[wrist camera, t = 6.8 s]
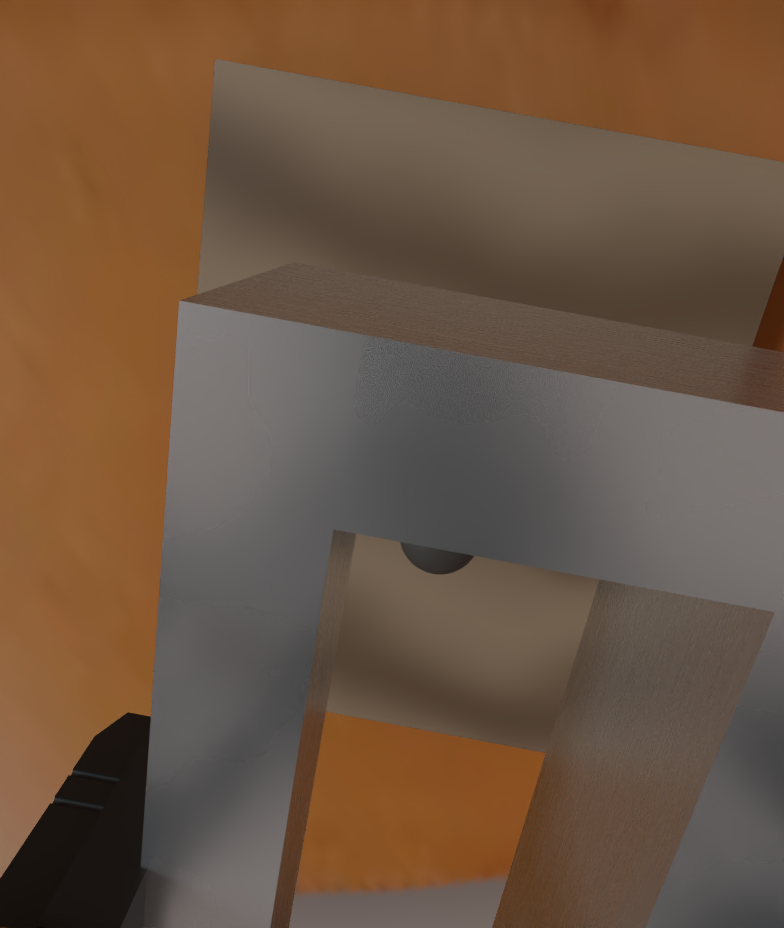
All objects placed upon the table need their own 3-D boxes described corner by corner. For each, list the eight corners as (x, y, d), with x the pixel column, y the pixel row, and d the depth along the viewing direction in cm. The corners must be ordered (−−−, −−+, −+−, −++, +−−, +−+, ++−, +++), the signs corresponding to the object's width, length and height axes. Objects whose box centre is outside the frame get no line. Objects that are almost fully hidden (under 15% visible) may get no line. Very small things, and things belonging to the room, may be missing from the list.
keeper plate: (230, 69, 20) (117, -6, 13) (788, 170, 20) (973, 149, 13) (182, 657, 27) (89, 814, 20) (598, 735, 27) (653, 921, 20)
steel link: (294, 261, 9) (179, 300, 5) (781, 351, 9) (1039, 459, 5) (207, 985, 13) (110, 1296, 9) (528, 1048, 13) (563, 1386, 9)
